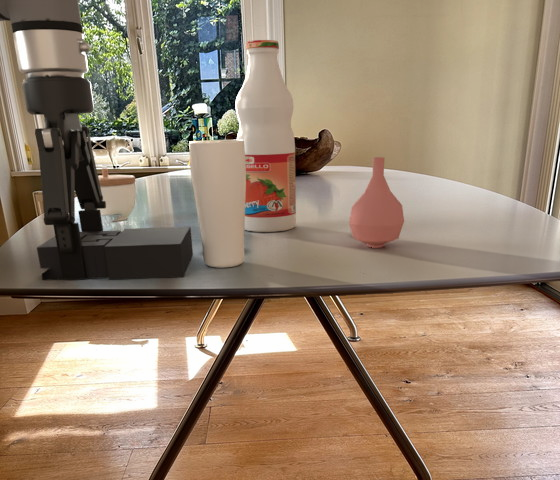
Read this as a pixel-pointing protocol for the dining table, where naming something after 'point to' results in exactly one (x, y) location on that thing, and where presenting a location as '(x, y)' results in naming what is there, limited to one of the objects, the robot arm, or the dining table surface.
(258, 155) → the fruit juice
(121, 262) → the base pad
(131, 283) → the dining table surface
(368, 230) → the pink teardrop shaped piece
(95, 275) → the dark grey block
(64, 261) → the robot arm
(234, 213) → the drinking glass
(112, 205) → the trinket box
